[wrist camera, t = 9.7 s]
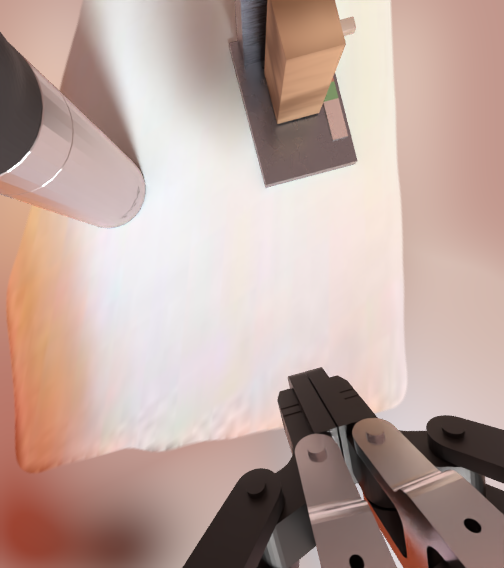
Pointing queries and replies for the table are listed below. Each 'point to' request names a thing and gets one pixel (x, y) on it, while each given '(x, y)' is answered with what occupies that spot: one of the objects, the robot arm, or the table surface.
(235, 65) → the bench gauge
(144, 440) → the table surface
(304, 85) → the block
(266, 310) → the table surface
